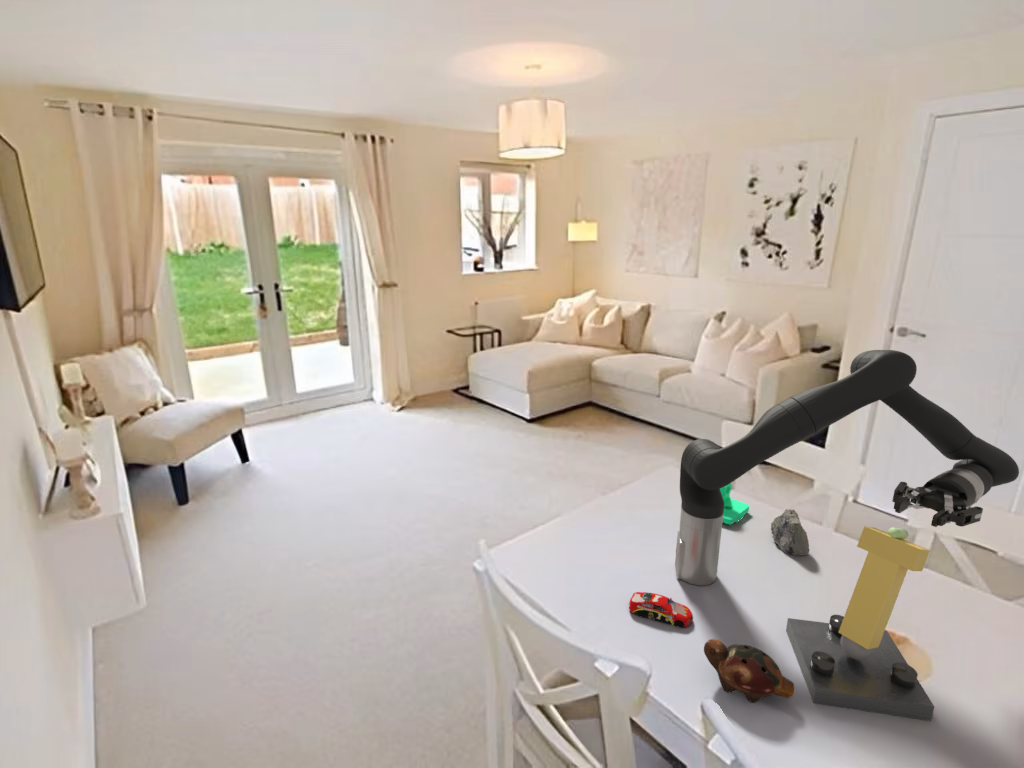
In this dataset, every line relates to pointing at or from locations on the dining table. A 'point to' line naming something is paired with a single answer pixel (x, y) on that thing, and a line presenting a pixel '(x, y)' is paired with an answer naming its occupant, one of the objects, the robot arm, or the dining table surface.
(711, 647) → the decorative turtle
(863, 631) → the yellow t-shaped post
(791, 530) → the mineral rock
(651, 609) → the race car
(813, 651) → the dark grey base plate
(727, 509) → the camera mount
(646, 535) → the dining table surface
